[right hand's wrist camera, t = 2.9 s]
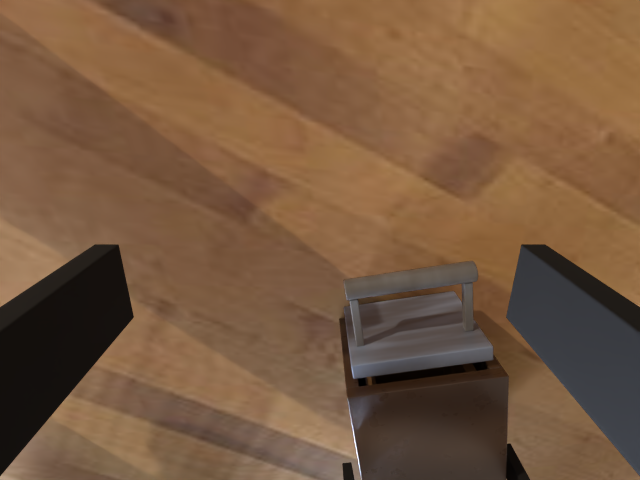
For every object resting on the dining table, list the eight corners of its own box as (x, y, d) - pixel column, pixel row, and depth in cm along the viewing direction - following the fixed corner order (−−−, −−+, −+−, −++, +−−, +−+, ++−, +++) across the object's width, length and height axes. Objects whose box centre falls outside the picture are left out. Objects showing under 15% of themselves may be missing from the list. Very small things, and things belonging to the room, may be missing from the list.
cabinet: (339, 318, 35) (347, 397, 26) (457, 301, 34) (509, 376, 25) (360, 447, 41) (373, 549, 31) (462, 434, 40) (504, 534, 31)
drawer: (334, 250, 31) (340, 298, 24) (452, 232, 31) (494, 275, 23) (364, 433, 39) (374, 512, 31) (459, 421, 38) (492, 498, 31)
